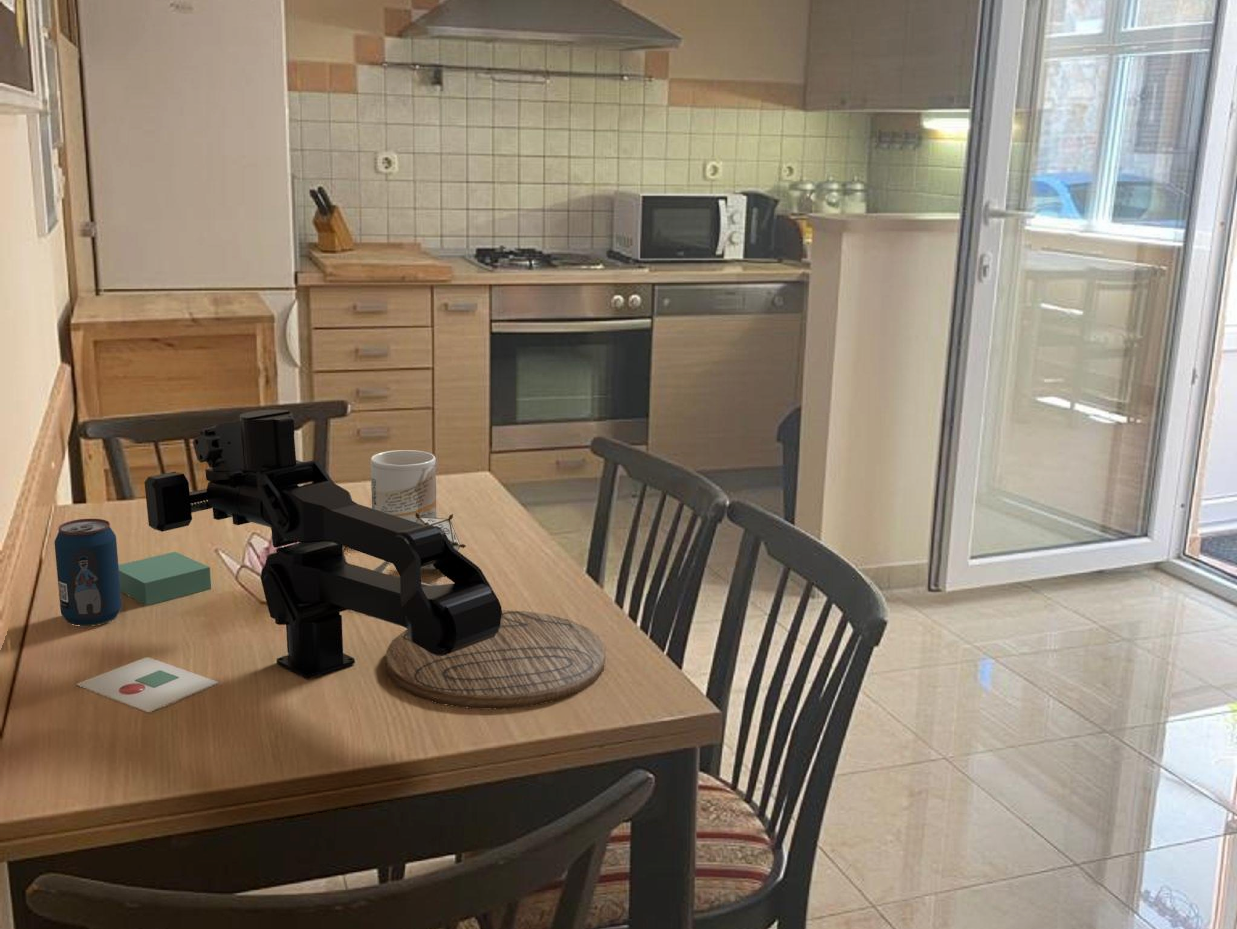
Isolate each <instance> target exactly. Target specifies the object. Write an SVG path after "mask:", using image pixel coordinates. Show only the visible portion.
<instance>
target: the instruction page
mask: <svg viewBox="0 0 1237 929" xmlns="http://www.w3.org/2000/svg"><path fill="white" fill-rule="evenodd" d="M216 684H217V685H220V684H219V681H217V680H214V679H211V678H208V677H205V676H203V675H200V674H197V673H194V672H191V671H188V670H185V669H182V668H179V667H177V666H175V665H171V664H168V663H166V662H163V661H160V660H158V659H157V660H156V659H155V658H152V657H149V656H145V657H143V658H141V659H139V660H138V659H137V660H135V661H133V662H131V663H128V664H125V665H122V666H120V667H117V668H115V669H112V670H110V671H107V672H104V673H101V674H99V675H96V676H94V677H91V678H88V679H86V680H82V681H80V682H78V683H76V686H77V685H78V686H77V687H79V686H80V688H82V687H83V689H85V688H86V689H85V690H87V691H90V692H92V691H93V692H92V693H96V694H97V693H99V694H98V695H101V696H103V697H105V696H106V697H105V698H108V699H110V698H111V700H113V699H114V700H113V701H115V700H117V701H116V702H118V701H120V702H119V703H121V702H123V703H125V704H124V705H126V704H128V705H131V706H132V707H131V706H130V707H131V708H133V707H135V708H134V709H136V708H139V709H140V710H139V709H138V710H139V711H141V710H144V711H147V712H151V711H153V710H156V709H158V708H160V707H163V706H164V705H167V704H170V703H172V702H174V701H177V700H179V701H181V700H180V699H182V700H184V699H186V698H185V697H187V696H189V697H191V696H193V695H192V694H194V693H196V694H198V693H200V692H199V691H201V692H203V691H205V690H207V689H206V688H208V687H210V688H212V687H214V686H213V685H215V686H217V685H216ZM204 689H205V690H204ZM208 689H209V688H208ZM202 690H203V691H202ZM197 692H198V693H197ZM190 695H191V696H190ZM194 695H195V694H194ZM183 698H184V699H183ZM187 698H188V697H187ZM177 702H178V701H177ZM123 703H122V704H123ZM172 704H173V703H172ZM128 705H127V706H128ZM170 705H171V704H170ZM163 708H164V707H163ZM158 710H159V709H158ZM144 711H143V712H144ZM156 711H157V710H156ZM151 713H152V712H151Z"/></svg>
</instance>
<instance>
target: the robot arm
mask: <svg viewBox="0 0 1237 929" xmlns="http://www.w3.org/2000/svg"><path fill="white" fill-rule="evenodd" d="M294 419H295V418H294V416H293V412H291V410H289V409H261V410H260V409H259V410H252V411H247V412H244V413H241V414H239V419H238V420H233V421H226V422H222V423H218V424H216V425H214V426H212V427H208V428H201V429H199V432H198V433H199V436H197V437H194V438H193V440H192V444H193V448H194V452H195V456H196V459H197V460H198V462H199V463H206V464H207V466H208V467H209V468H207V469H206V468H205V470H204V471H205V480H206V481H208V482H207V485H206V488H202V489H199V490H194V491H190V484H189V483H190V482H189V481H188V479H187V477H186V475H185V474H184V473H183V472H177V471H172V472H166V473H161V474H156V475H151V476H148V477H147V478H146V480H145V481H144V483H143V484H144V490H145V501H146V510H147V519H148V526H149V527H150V528H152V529H153V530H155V531H159V532H167V531H171V530H176V529H180V528H184V527H189V525H190V523H191V522H192V520H193V515H192V513H196V512H201V511H205V510H210V509H212V516H213V519H214V520H217V521H220V520H224V519H229V518H232V525H235V526H241V525H245V524H246V525H247V524H250V523H253V524H256V525H261V526H265V527H268V528H270V529H271V541H272V546H273V548H275V551H276V552H274V553H269V554H268V555H267V556H266V560H265V563H264V566H263V567H262V569H261V572H260V581H261V586H262V589H263V593H264V597H265V602H266V606H267V609H268V612H269V616H270V618H272V619H273V620H275V621H274V623H275V624H276V625H278V626H285V629H286V630H285V632H286V647H287V648H286V649H287V650H286V651H287V654H286V655H284V656H280V657H277V658H276V664H277V665H279V666H281V667H283V668H285V669H286V670H289V671H291V672H293V673H295V674H297V675H299V676H301V677H303V678H305V679H313V678H316V677H319V676H322V675H325V674H328V673H331V672H333V671H336V670H340V669H342V668H345V667H347V666H348V667H349V666H351V665H354V664H355V663H356V661H355V658H354V657H352V656H350V655H348V654H346V653H345V652H344V640H343V638H344V637H343V616H342V614H341V612H342V613H343V612H344V611H348V610H350V611H352V612H356V613H359V614H361V615H365V616H368V617H371V618H374V619H378V620H381V621H385V622H388V623H390V624H394V625H397V626H400V627H403V628H405V629H406V630H408V633H409V635H410V638H411V641H412V642H413V643H414V644H416V645H418V646H420V647H421V648H423V649H425V650H427V651H428V652H430V653H432V654H434V655H436V656H444V655H447V654H450V653H452V652H455V651H458V650H460V649H463V648H466V647H469V646H471V645H474V644H477V643H479V642H482V641H485V640H487V639H490V638H493V637H495V635H496V634H497V632H498V630H499V628H500V624H501V616H502V605H501V603H500V600H499V598H498V597H497V595H496V593H495V591H494V589H493V588H492V586H491V584H490V582H489V581H488V580H487V578H486V576H485V574H484V573H483V571H482V569H481V568H480V567H479V566H478V565H476V564H475V563H474V562H473V561H472V560H470V559H469V558H468V557H466V555H464V554H462V553H461V552H460V551H459V550H458V551H457V550H456V549H454V548H453V546H452V544H451V543H450V541H449V539H448V538H447V536H446V534H445V533H444V531H443V530H442V529H441V528H439V527H438V526H432V525H422V524H419V523H416V522H413V521H409V520H406V519H403V518H400V517H397V516H394V515H391V514H388V513H384V512H381V511H378V510H375V509H372V507H368V506H365V505H362V504H359V503H357V502H356V501H354V500H353V498H352V496H351V493H350V492H349V490H347V489H345V488H343V487H342V486H339V485H338V484H336V483H335V482H334V481H333V479H332V478H331V477H330V476H329V474H328V473H327V471H326V470H325V469H324V467H323V466H322V465H321V464H320V462H319V461H318V460H317V459H315V460H314V459H313V460H309V461H302V460H298V459H297V454H296V444H295V443H296V442H295V441H296V440H295V430H296V428H295V420H294ZM307 483H309V484H307ZM302 484H303V485H302ZM344 547H345V548H348V549H351V550H353V551H356V552H358V553H362V554H364V555H368V556H370V557H373V558H376V559H377V560H378V559H379V560H382V561H384V562H385V561H387V562H389V563H390V564H392V565H393V567H394V568H395V570H396V572H397V574H398V575H399V577H398V576H395V575H392V574H389V573H385V572H382V573H381V572H378V571H374V569H370V568H366V567H362V566H360V565H356V564H352V563H349V562H348V561H347V558H346V557H345V552H344V551H343V550H344V549H343V548H344ZM432 564H433V566H434V567H435V568H436V569H437V571H438V572H439V573H441V574H442V575H444V576H445V577H446V578H447V579H448V580H450V581H451V582H453V583H446V584H437V585H436V586H428V585H424V584H421V583H422V569H421V568H422V567H426V566H429V565H432Z"/></svg>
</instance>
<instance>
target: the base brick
mask: <svg viewBox="0 0 1237 929" xmlns="http://www.w3.org/2000/svg"><path fill="white" fill-rule="evenodd" d="M118 566H119V578H120V590H121V592H123V593H124V594H123V593H122V594H123V595H125V594H127V595H129V596H130V597H129V596H128V597H129V598H131V597H132V598H131V599H133V598H134V599H133V600H135V601H137V600H138V601H137V602H139V601H140V602H139V603H140V604H143V605H145V606H146V605H147V606H151V605H154V604H158V603H161V602H166V601H169V600H173V599H177V598H180V597H184V596H189V595H193V594H196V593H197V594H198V593H200V592H204V591H207V590H208V591H209V590H210V589H212V582H211V580H212V579H211V567H210V566H208V565H206V564H204V563H201V562H199V561H197V560H195V559H192V558H190V557H188V556H185V555H184V554H181V553H180V552H177V551H172V552H168V553H164V554H159V555H155V556H151V557H146V558H142V559H138V560H133V561H130V562H125V563H121V564H118ZM127 595H126V596H127Z"/></svg>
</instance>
